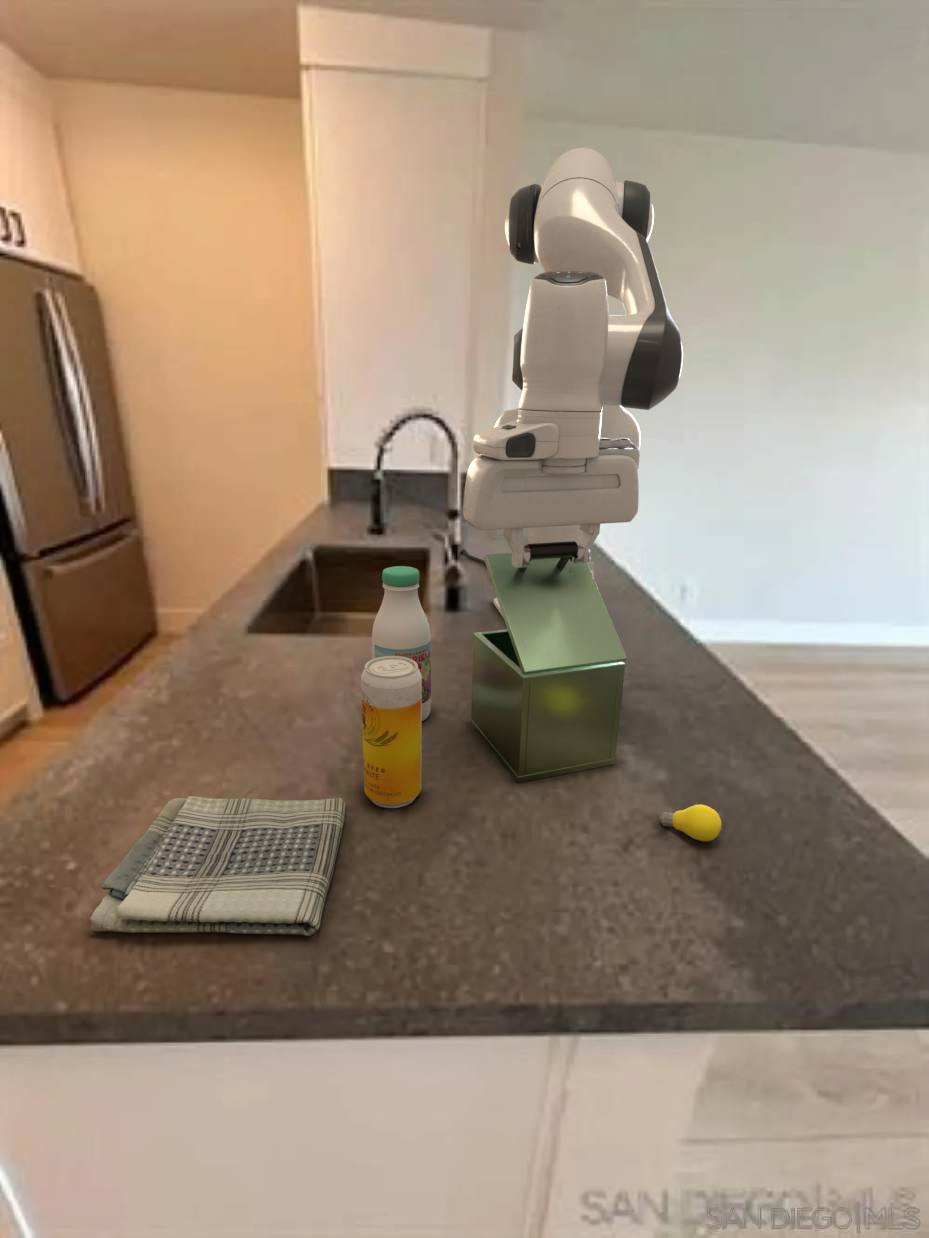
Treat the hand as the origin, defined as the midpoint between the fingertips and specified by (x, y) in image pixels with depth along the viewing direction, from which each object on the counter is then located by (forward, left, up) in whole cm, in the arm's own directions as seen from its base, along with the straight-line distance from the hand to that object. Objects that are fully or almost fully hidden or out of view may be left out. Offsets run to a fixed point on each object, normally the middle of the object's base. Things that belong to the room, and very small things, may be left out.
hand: (549, 564), depth 76 cm
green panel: (+1, 0, -5) cm, 5 cm away
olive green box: (0, 0, -23) cm, 23 cm away
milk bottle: (-13, -14, -23) cm, 30 cm away
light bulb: (+21, +6, -23) cm, 32 cm away
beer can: (+5, -20, -23) cm, 31 cm away
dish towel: (+12, -37, -23) cm, 45 cm away
